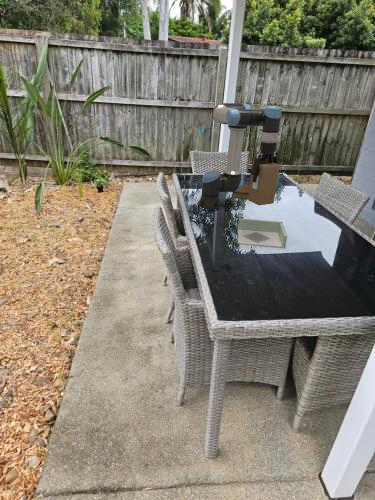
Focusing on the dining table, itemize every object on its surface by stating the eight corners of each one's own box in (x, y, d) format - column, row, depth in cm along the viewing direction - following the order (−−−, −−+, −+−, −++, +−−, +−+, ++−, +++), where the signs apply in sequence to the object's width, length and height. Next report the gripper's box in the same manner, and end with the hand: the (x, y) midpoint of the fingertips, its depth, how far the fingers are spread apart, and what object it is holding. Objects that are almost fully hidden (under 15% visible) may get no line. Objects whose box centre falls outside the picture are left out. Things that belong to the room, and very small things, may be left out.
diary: (257, 201, 237) (258, 193, 235) (231, 199, 240) (232, 191, 237) (257, 192, 258) (258, 185, 255) (233, 190, 260) (234, 183, 258)
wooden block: (262, 198, 174) (267, 160, 165) (274, 204, 165) (280, 164, 157) (246, 200, 170) (251, 161, 161) (258, 206, 162) (263, 165, 153)
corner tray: (238, 244, 169) (239, 232, 166) (237, 229, 187) (239, 218, 184) (285, 248, 167) (287, 236, 164) (280, 232, 184) (282, 221, 181)
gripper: (258, 144, 145) (252, 192, 155) (290, 141, 158) (283, 185, 168) (245, 141, 151) (240, 188, 160) (278, 139, 163) (272, 182, 173)
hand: (262, 187), depth 164 cm, fingers closed on wooden block, 11 cm apart
